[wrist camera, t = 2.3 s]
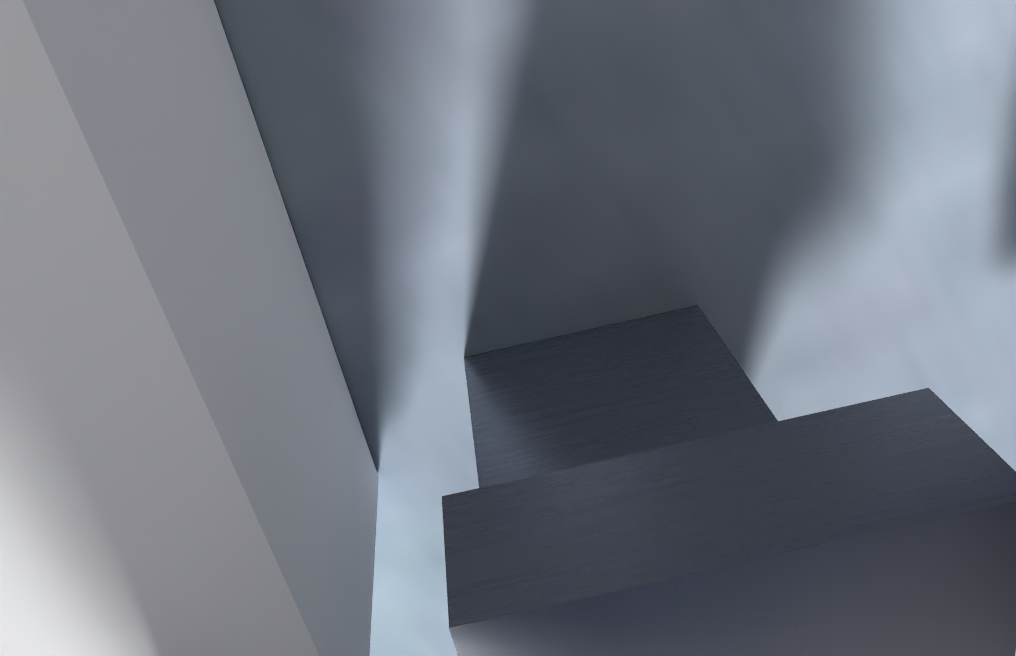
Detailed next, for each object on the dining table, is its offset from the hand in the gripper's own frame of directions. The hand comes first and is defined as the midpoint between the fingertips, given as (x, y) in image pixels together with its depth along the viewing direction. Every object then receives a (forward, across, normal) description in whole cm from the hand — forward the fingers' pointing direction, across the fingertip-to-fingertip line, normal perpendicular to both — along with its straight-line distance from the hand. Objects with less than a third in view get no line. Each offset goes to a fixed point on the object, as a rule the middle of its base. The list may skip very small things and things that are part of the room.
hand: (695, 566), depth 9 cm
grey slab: (+2, +1, 0) cm, 2 cm away
